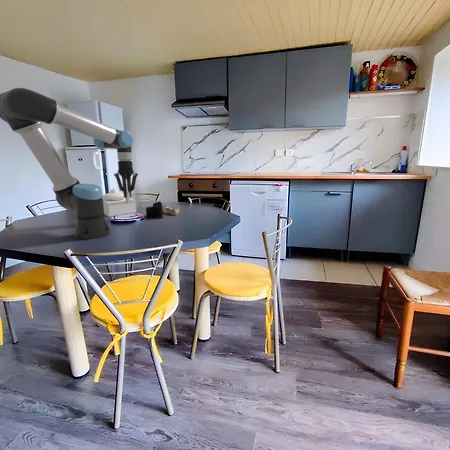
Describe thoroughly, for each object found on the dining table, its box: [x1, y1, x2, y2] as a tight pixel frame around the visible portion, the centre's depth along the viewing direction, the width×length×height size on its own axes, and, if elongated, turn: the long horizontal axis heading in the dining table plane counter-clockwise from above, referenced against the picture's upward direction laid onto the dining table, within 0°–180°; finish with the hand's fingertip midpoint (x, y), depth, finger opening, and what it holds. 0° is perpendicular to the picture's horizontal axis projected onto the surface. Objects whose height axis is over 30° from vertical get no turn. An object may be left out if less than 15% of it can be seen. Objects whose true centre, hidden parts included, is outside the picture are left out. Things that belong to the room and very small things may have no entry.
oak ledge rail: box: [162, 204, 180, 217], centre depth 178 cm, size 18×2×4 cm, turn 41°
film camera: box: [145, 201, 164, 220], centre depth 168 cm, size 15×10×9 cm, turn 16°
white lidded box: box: [103, 188, 137, 218], centre depth 181 cm, size 18×18×16 cm
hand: (128, 203), depth 159 cm, fingers closed
